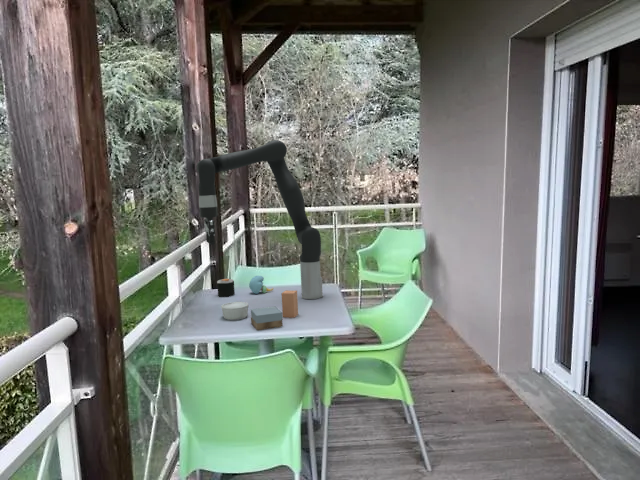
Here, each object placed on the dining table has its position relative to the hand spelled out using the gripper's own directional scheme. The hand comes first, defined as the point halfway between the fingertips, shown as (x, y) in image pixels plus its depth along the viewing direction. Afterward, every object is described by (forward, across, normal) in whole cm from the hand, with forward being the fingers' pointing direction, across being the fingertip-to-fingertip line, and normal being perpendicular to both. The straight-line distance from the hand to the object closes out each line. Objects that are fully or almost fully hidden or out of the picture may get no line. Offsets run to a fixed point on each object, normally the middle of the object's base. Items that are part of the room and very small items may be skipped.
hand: (210, 243), depth 217 cm
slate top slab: (+27, -34, -15) cm, 46 cm away
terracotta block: (+29, -26, -27) cm, 48 cm away
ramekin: (+30, -17, -6) cm, 35 cm away
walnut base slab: (+30, -34, -15) cm, 48 cm away
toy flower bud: (+30, +21, -26) cm, 45 cm away
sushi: (+30, +25, -9) cm, 40 cm away
